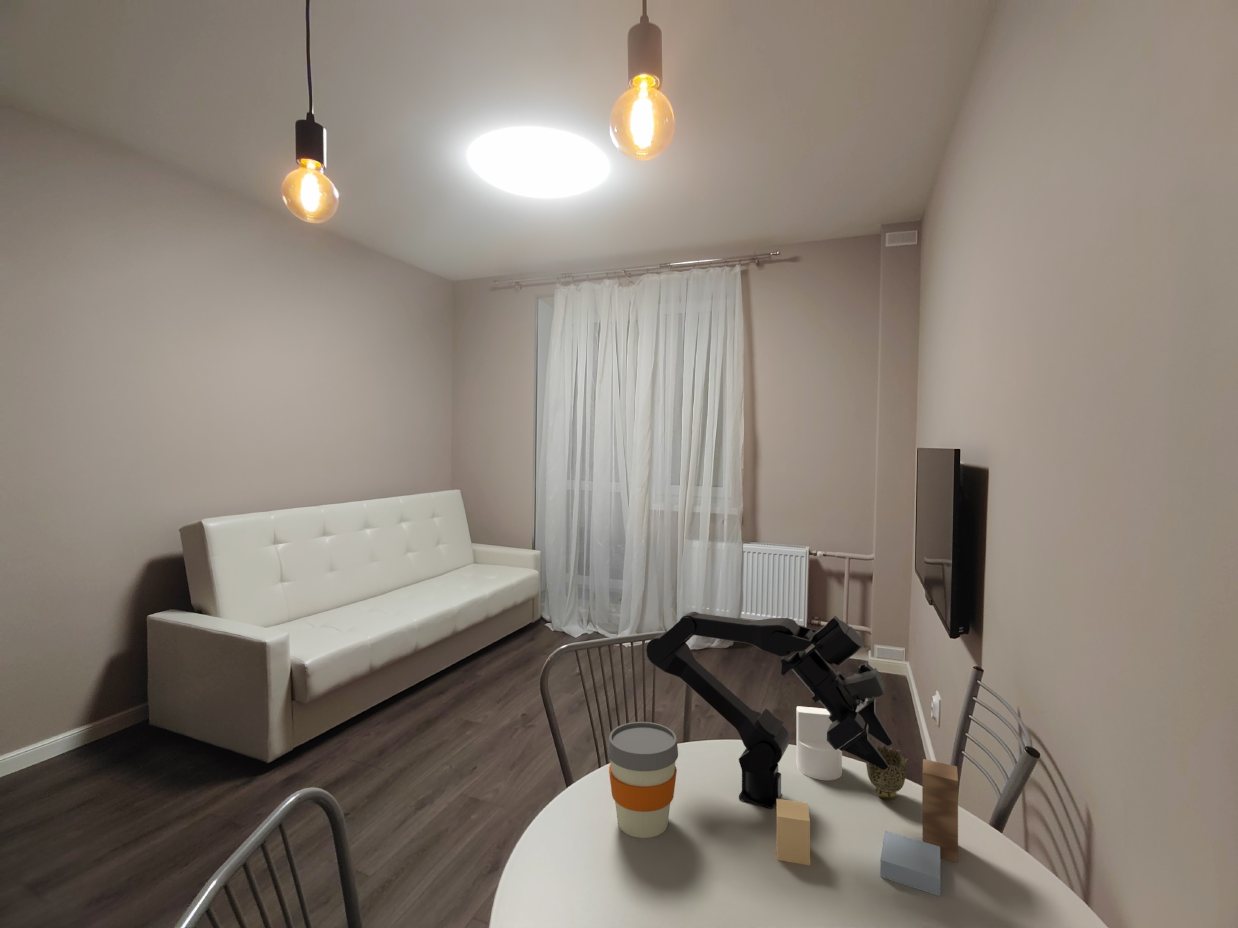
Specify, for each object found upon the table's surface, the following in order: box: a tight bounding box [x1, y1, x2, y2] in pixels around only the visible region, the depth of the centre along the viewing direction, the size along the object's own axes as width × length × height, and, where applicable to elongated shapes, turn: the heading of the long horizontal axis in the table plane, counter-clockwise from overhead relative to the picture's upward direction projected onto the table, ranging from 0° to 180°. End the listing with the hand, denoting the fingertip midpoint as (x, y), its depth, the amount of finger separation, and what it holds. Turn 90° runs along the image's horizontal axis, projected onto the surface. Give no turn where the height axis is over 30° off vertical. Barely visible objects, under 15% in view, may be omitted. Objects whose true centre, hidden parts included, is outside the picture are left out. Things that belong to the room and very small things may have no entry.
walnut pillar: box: [921, 758, 959, 863], centre depth 94 cm, size 5×5×13 cm
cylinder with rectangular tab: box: [795, 705, 843, 781], centre depth 118 cm, size 9×9×12 cm
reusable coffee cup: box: [607, 721, 679, 839], centre depth 101 cm, size 12×13×15 cm
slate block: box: [879, 830, 941, 897], centre depth 89 cm, size 8×8×3 cm
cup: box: [865, 744, 909, 801], centre depth 109 cm, size 8×7×8 cm
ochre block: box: [776, 798, 811, 866], centre depth 93 cm, size 5×5×7 cm
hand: (888, 755), depth 98 cm, fingers open, 9 cm apart
